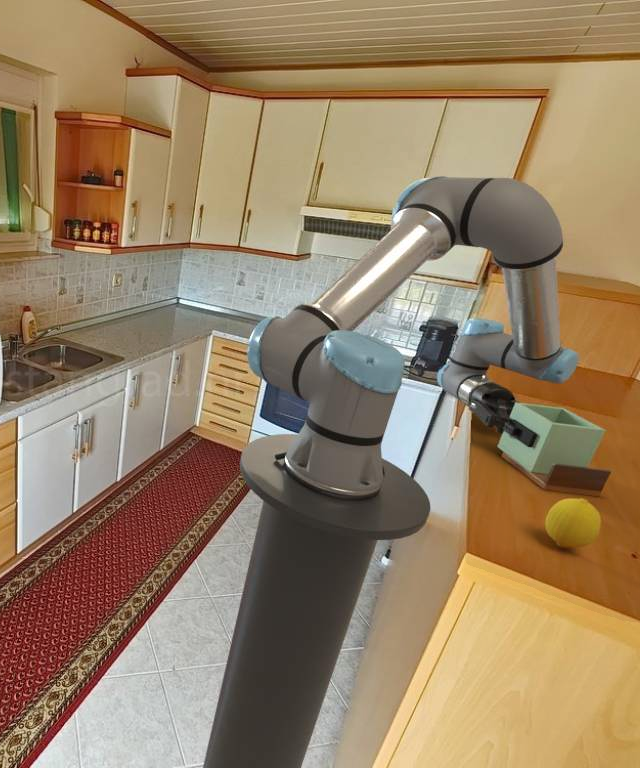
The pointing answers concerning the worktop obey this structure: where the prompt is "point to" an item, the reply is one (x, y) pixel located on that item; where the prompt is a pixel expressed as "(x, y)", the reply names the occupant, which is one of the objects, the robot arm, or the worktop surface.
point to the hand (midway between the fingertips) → (560, 443)
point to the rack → (567, 478)
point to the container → (552, 438)
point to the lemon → (573, 523)
